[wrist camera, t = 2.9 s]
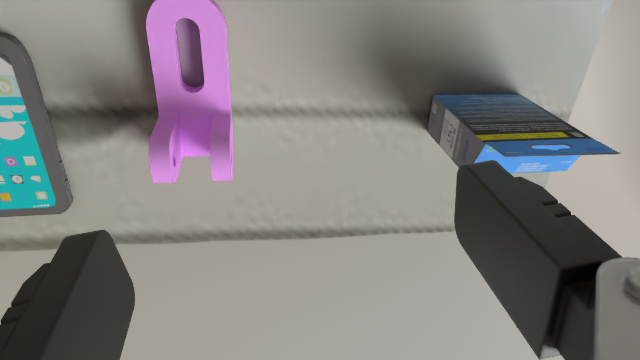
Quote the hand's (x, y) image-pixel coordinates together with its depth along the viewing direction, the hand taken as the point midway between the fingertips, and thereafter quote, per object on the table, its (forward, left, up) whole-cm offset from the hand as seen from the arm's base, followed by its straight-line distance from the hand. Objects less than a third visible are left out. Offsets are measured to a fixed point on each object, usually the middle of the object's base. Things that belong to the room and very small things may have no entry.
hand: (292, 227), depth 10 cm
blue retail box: (+20, -6, -27) cm, 35 cm away
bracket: (-5, -5, -27) cm, 28 cm away
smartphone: (-20, -11, -27) cm, 35 cm away
